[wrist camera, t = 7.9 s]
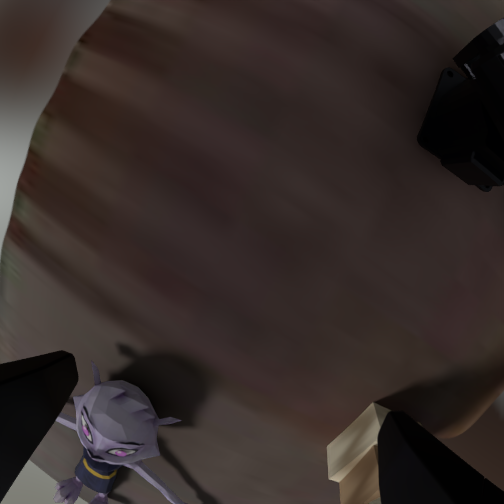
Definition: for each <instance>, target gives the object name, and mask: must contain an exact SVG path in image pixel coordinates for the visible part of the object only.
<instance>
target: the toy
mask: <svg viewBox="0 0 504 504" xmlns="http://www.w3.org/2000/svg"><path fill="white" fill-rule="evenodd" d="M91 362H92V360H91ZM92 368H93V373H94V380H95V386H94V387H93V388H92V389H91V390H90V391H89V392H88V393H86V394H84V395H79V396H74V397H73V399H74V404H75V408H76V418H73V417H71V416H69V415H66V414H64V413H60V414H59V416H58V418H57V419H56V421H58V422H60V423H61V424H63V425H65V426H67V427H69V428H71V429H73V430H75V431H77V433H78V435H79V438H80V440H81V443H82V444H83V446H84V447H83V456H82V458H81V460H80V462H79V463H78V465H77V466H76V468H75V474H76V477H73V478H70V479H67V480H63V481H61V482H58V483H57V484H56V486H55V488H56V489H57V490H58V491H57V492H56V493H55V496H54V498H53V499H54V501H55V502H63V501H64V500H65V499H66V500H65V501H64V502H65V504H74V502H75V501H76V500H77V498H78V496H79V494H80V491H81V489H82V486H83V484H84V485H86V486H87V487H88V488H90V489H92V490H94V491H96V492H98V494H97V495H96V496H95V497H94V498H93V499H92V500H91V501H90V503H89V504H108V497H107V494H108V493H109V492H110V491H111V490H112V485H113V483H114V481H115V479H116V476H117V471H118V469H119V468H120V467H122V466H123V465H124V466H126V467H129V468H132V469H134V470H135V471H136V472H137V473H139V474H140V475H141V476H142V477H143V478H145V479H146V480H147V481H148V482H149V483H151V484H152V485H153V486H155V487H156V488H157V489H158V490H160V491H161V492H162V494H163V495H164V496H165V497H166V498H167V499H168V500H169V501H170V502H171V503H173V504H187V503H184V502H183V501H182V500H181V499H180V498H179V497H178V496H177V495H176V494H175V493H174V492H173V491H172V490H171V489H170V488H169V487H167V486H166V484H165V483H164V482H163V481H162V480H161V479H160V478H159V477H158V476H157V475H156V474H155V473H154V472H153V471H151V470H150V469H149V468H148V467H147V466H146V465H145V464H144V463H143V462H142V461H141V459H145V458H150V457H155V456H160V452H159V447H158V443H157V432H158V425H166V424H172V423H175V422H179V421H182V420H179V419H176V418H172V417H168V418H163V419H159V418H158V416H157V414H156V412H155V410H154V408H153V406H152V404H151V402H150V400H149V398H148V397H147V396H146V395H145V394H144V393H143V392H142V391H141V389H140V388H139V387H137V386H135V385H132V384H130V383H128V382H126V381H123V380H117V381H106V382H102V383H101V381H100V375H99V370H98V368H97V367H96V365H95V364H94V363H93V362H92Z"/></svg>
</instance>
